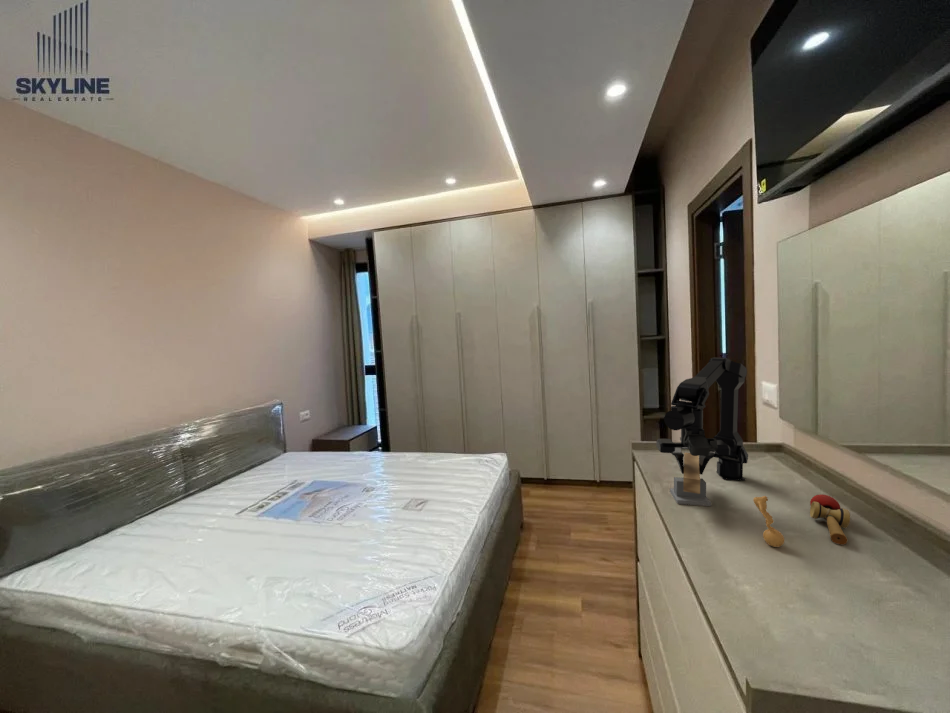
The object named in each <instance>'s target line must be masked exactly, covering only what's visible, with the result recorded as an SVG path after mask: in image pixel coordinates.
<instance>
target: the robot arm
mask: <svg viewBox="0 0 950 713" xmlns="http://www.w3.org/2000/svg"><path fill="white" fill-rule="evenodd" d="M747 373H748V369H747V367H746V366H745V365H743V363H739V362H736V361H733V360H731V359H730V358H727V357H711V358H710V359H709V360H708V363H707V364H706V365H705V366H704V367H703V368H701V370H699V371H698V372H697V373H696V375H695V376H693V377H690V378H686V379H685V380H682V381H680V383H678V385H677V387H676V389H675V391H674V392H675V393H674V395H673V397H672V400H671V403H670V405H671V406H670V410H668V411H667V412H666V413H665V414H664V416H663V421H664V424H665V426H666V427H667V428H669V430H672V431H680V437H679V440H680V442H674V441H673V440H672V439H671V438H658V439H657V440H656V442H655V445H656V447H655V448H657V449H658V451H659V452H660V453H662V454H671V455H672V456H673V457H674V458H675V460H676V462H677V464H678V468H679V470H680V472H681V474H683V475H684V453H683V452H682V450H688V451H689V453H690V454H691V455H693V456H699V470H700V476H701V475H703V474H704V471H705V469H706V468H707V465H708V463H709V461H710V460H711V459H713V458H717V459H718V461H716V474H718V476H719V477H721V478H722V480H730V481H746V479H745V477H744V473H743V471H744V464H748V460H749V453H748V452H747V450H746V448H745V447H744V440H743V438H742V436H741V435H740V433H739V432H738V419H739V418H738V416H739V414H738V413H739V412H738V411H739V407H738V406H739V389H740V388H741V387H742V385H744V383H745V381H746V377H747ZM715 382H716V383H717V385H718V386H719V388H720V420H719V422H720V426H719V431H718V432H717V434H716V435H714V436H713V438H710V437H706V435H705V434H706V433H705V429H704V408H706V406H707V405H705V404H706V402H707V399H708V398H709V396H710V392H709V389H710V387H711V386H712V385H713V384H714V383H715Z"/></svg>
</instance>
